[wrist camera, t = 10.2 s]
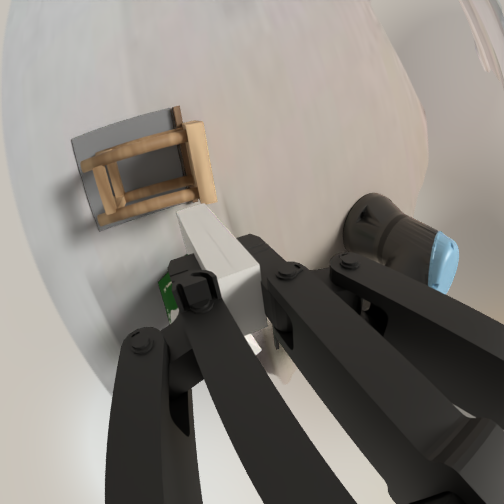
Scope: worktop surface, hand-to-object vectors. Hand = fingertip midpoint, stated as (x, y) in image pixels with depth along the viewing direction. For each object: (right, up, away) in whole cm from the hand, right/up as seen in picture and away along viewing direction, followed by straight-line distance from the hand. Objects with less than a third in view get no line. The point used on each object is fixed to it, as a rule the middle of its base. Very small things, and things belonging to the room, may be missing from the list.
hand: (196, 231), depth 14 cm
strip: (-6, +12, +22) cm, 26 cm away
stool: (-3, +10, +17) cm, 20 cm away
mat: (-14, +10, +19) cm, 26 cm away
